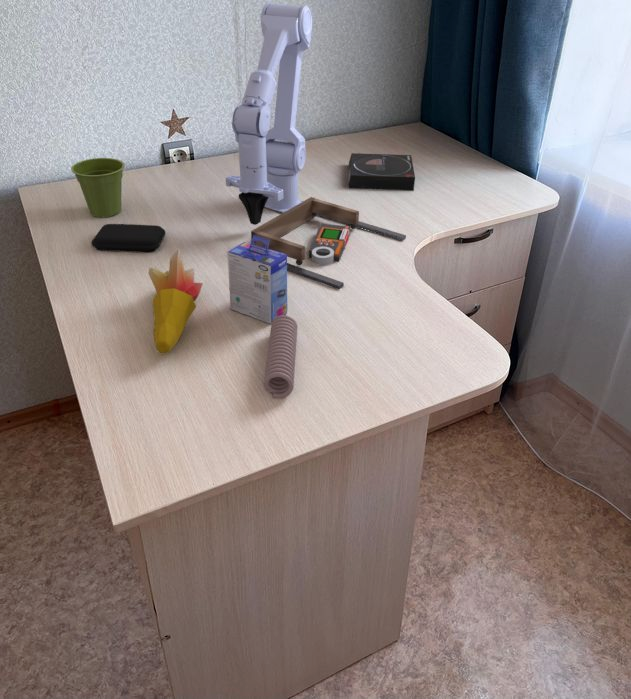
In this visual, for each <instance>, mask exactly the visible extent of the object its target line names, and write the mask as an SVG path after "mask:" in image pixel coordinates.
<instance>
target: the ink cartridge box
mask: <svg viewBox="0 0 631 699" xmlns="http://www.w3.org/2000/svg"><path fill="white" fill-rule="evenodd" d="M255 241H261V242H263V243H264V244H265V247H261V246H258V245H255V244H254V242H255ZM269 242H270V240H268V239H265V238H262V237H259V236H256V235H253V238H252V241H250V242H248V241H247V242H246V241H243V242H242V243H240V244H238V245H236V246H234V247H233V248H231V249H230V250H228V251H227V267H228V268H227V269H228V285H229V308H230V310H232V311H236V312H238V313H240V314H244V315H246V316H248V317H252V318H254V319H256V320H260V321H262V322H265V323H267V324H270V325H271V323H272V321H273V319H274V318H275V317H277V316H280V315H286V314H288V271H287V263H288V257H287V254H284V253H280V252H277V251H274V250H270V249H268V247H269Z"/></svg>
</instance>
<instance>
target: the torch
mask: <svg viewBox="0 0 631 699" xmlns="http://www.w3.org/2000/svg"><path fill="white" fill-rule="evenodd" d="M184 267H185V266H184V262H183V260H182V259H181V252H180V247H178V248H177V249H176V250H175V252H174V253H173V254H172V256H171V257H170V259H169V267H168V268H169V270H166V271H165V272H163V271H161V270H160V268H159V267H158V265H157V264H156V262H153V266H152V267H149V268H148V272H147V274H148V277H149V278H150V280H151V282H152V285H153V286H154V287H153V288H154V289H155V293H156V295H155V296H154V297H153V298H152V307H153V308H152V309H153V317H154V318H153V340H154V345H155V349H156V351H157V352H158V353H159V354H168V353H169V352H170V351H171V350H172V349H174V347H175V345H176V344H177V343H178V342H179V339H180V338H181V335H182V334H183V331H184V329H185V327H186V325H187V323H188V321H189V319H190V318H191V316H192V314H193V313H194V311H195V309H196V308H197V305H196V302H195V301H196V300H197V299H198V297H199V295H200V293H201V290H202V287H203V285H204V284H203V282H195V268H188V269H186V270H185V268H184Z"/></svg>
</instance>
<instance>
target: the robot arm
mask: <svg viewBox="0 0 631 699" xmlns="http://www.w3.org/2000/svg"><path fill="white" fill-rule="evenodd" d="M260 28H261V32H262V36H263V42H262V45H261V46H262V47H261V51H260V56H259V62H258V66H257V70H255V71H253V72H251V73H250V75H249V77H248V78H249V79H248V81H247V84H246V88H245V91H244V95H243V98H242V101H241V104H239V106H237V107H235V108H234V110H233V114H232V121H231V126H232V130H233V132H234V135H235V136H234V137H235V142H236V143H238V144H237V145H238V156H239V157H238V160H239V176H238V175H233V174H230V175H228V176H226V177H225V186H226V187H229V188H230V187H234V188H238V189H239V192H240V193H238V199H239V200H240V201H241V202H242V205H243V206H244V209H245V211H246V213H247V216H248V220H249V222H250V224H251V225H254V226H256V225H258V224H260V223H261V220H262V218H263V217H262V216H263V212H264V209H268V210H273V211H275V212H278V213H281V214H282V213H284V212H286V211H287V210H289V209H291V208H293V207H294V206H296V205H298V204H300V203H301V202H303V201H304V200H302V199H299V172H300V171H302V169H303V168H304V166H305V163H306V158H307V152H306V138H305V137H304V136H303V135H302V134H301V133H300V132H299V131H298V129H296V123H297V122H296V120H297V110H298V102H299V91H300V82H301V72H302V62H303V54H304V51H307V50H308V49H310V47H311V46H310V44H311V40H312V29H313V17H312V12H311V10H310V8H309V6H308V5H293V4H292V5H291V4H281V3H280V4H279V3H271V2H266V3H265V4H264V6H263V7H262V10H261V15H260ZM278 66H279V67H278ZM277 68H278V74H277V75H278V76H277V78H278V79H277V81H276V79H275V74H276V71H277ZM276 88H277V89H276ZM275 92H276V98H275V99H276V100H275V101H276V102H275V111H274V119H273V120H274V121H273V127H272V128H271V129H270V126H271V115H272V109H271V105H272V102H273V98H274V95H275ZM277 140H279V141H277ZM283 141H285V142H283ZM286 141H287V142H286Z"/></svg>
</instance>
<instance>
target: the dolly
mask: <svg viewBox="0 0 631 699" xmlns="http://www.w3.org/2000/svg"><path fill="white" fill-rule="evenodd" d="M302 201H303V202H301V203H300V204H298V205H296V206H294V207H293V208H291V209H289V210H287V211H286V212H284V213H282V212H281V213H280V214H278V215H277V216H275V217H274V218H272V219H269V220H267V222H264V223H262V224H261V225H259V226H257V227H255V228H254V229H252V230H250V240H251V241H252V238H253V235H256V236H259V237H262V238H265V239H268V240H270V242H269V247H268V249H270V250H274V251H277V252H280V253H284V254H287V258H291V259H293V260H295V264H296V266H302V265H303V262H304V261H305V260H306V246H305V245H303V244H299V243H296V242H294V241H290V240H287V239H284V238H282V236H284V235H287V233H289V232H291V231H293V230H294V229H296V228H298V227H299V226H301V225H303V224H304V223H306V222H307V221H309V220H311V219H313V218H315V217H317V216H318V215H317V214H320V215H323V216H327V217H330V218H333V219H336V220H340V221H343V222H346V223H350V224H351V225H349V227H350V230H355V229H356V228H357V227H356V225H357V224H358V222H359V221H360V211H359V210H356V209H353V208H349V207H346V206H342V205H338V204H335V203H333V202H332V203H331V202H328V201H325V200H321V199H318V198H316V197H312V196H311V197H309V198H307V199H304V200H302ZM251 241H250V242H251ZM254 244H255V245H258V246H261V247H265V244H264V243H263V242H261V241H255V242H254Z"/></svg>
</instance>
